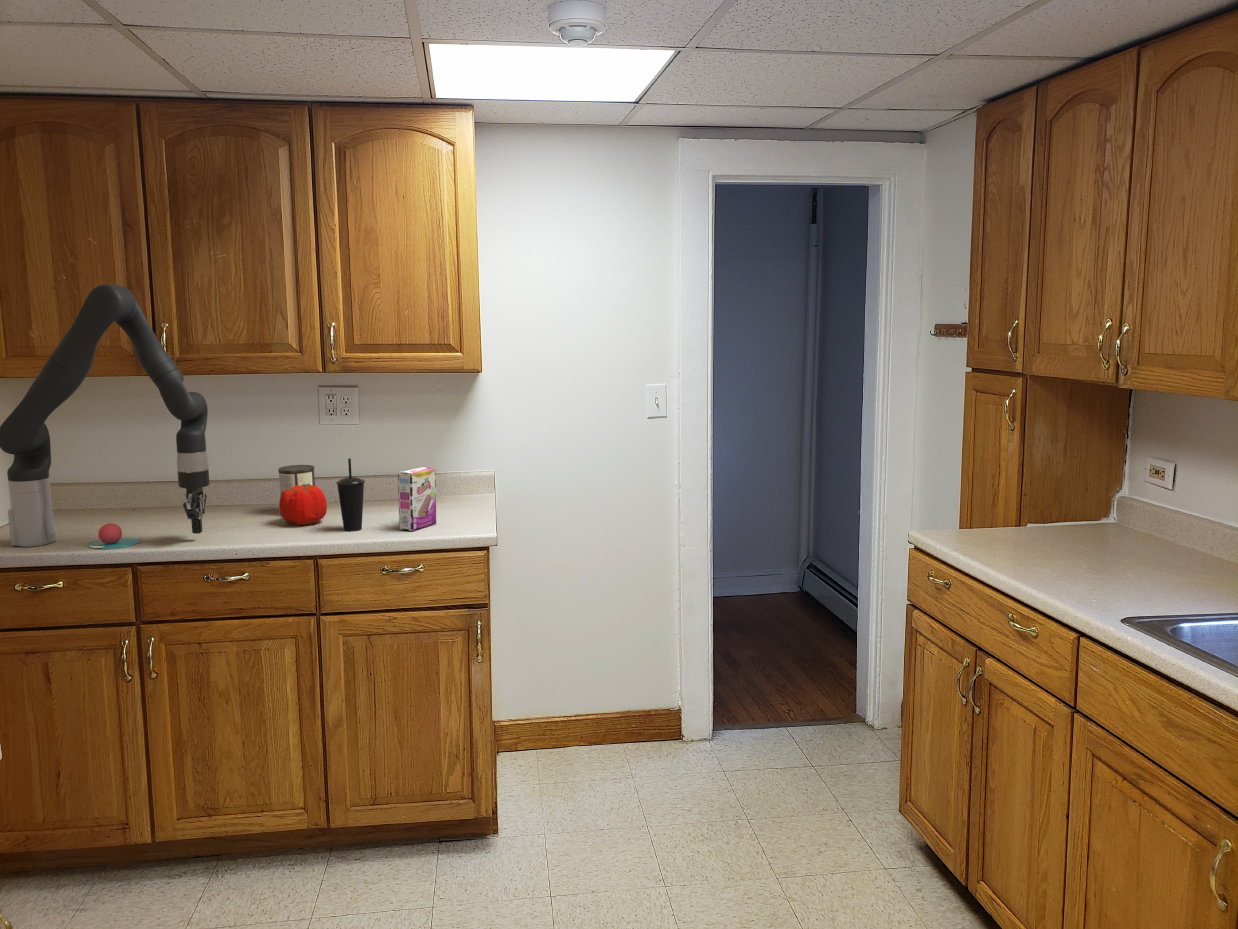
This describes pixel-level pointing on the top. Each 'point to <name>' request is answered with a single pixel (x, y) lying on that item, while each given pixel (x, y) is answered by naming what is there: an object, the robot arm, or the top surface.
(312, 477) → the coffee can
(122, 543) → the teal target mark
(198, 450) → the robot arm
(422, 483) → the candy bar box
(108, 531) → the ball
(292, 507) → the tomato
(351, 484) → the drinking cup
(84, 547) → the top surface
